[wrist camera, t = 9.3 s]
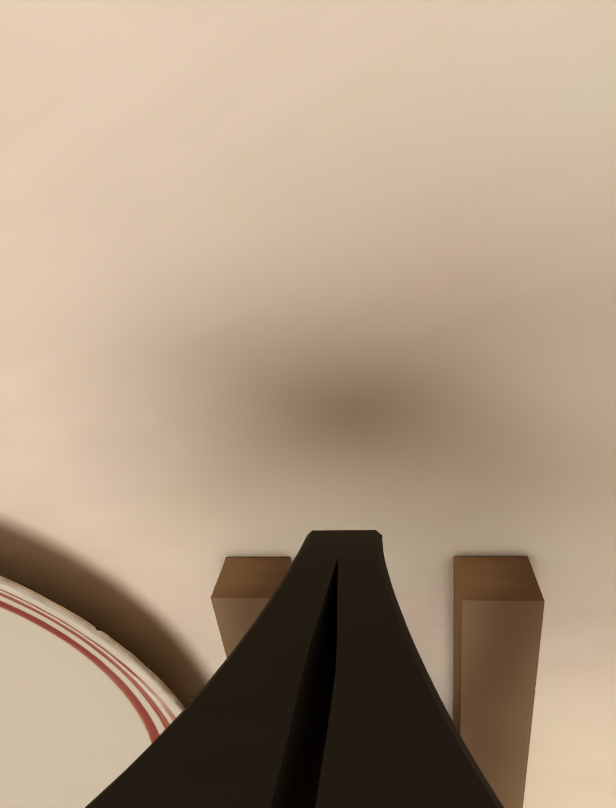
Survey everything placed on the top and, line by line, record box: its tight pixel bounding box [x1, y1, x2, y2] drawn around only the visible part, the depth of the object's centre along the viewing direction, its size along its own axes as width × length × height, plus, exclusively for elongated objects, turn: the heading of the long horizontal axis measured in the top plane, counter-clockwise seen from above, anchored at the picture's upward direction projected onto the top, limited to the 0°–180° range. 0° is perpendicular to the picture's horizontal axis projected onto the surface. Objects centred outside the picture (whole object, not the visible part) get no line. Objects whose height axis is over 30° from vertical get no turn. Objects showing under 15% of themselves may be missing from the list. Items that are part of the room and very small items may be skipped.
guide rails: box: [211, 557, 544, 808], centre depth 21 cm, size 11×18×2 cm, turn 7°
